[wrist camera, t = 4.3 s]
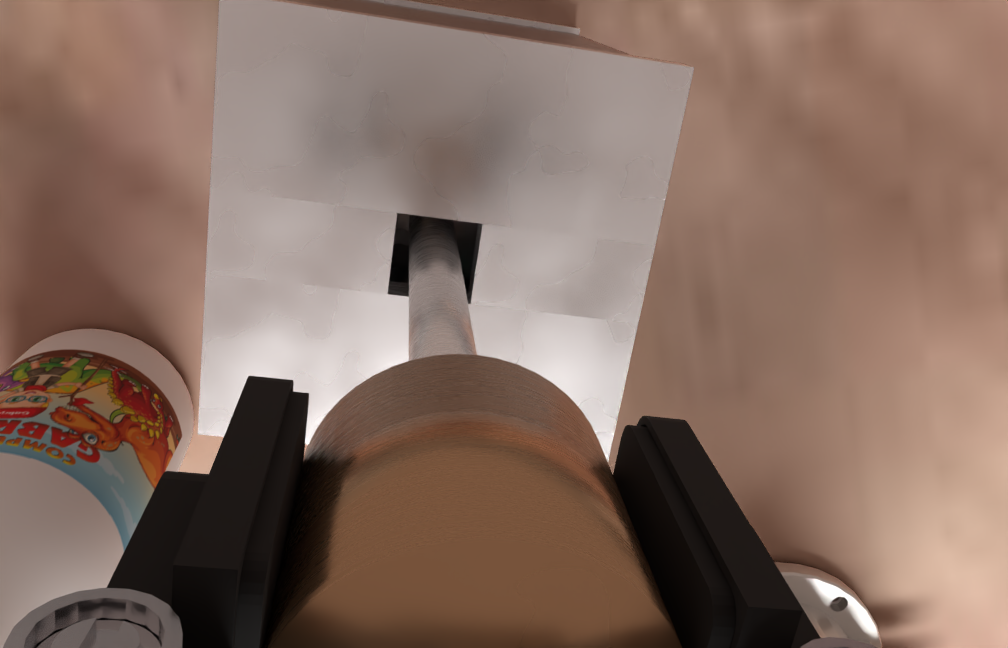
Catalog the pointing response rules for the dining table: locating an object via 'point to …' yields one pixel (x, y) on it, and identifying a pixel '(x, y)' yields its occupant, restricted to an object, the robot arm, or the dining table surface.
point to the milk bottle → (81, 460)
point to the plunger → (459, 498)
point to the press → (427, 193)
